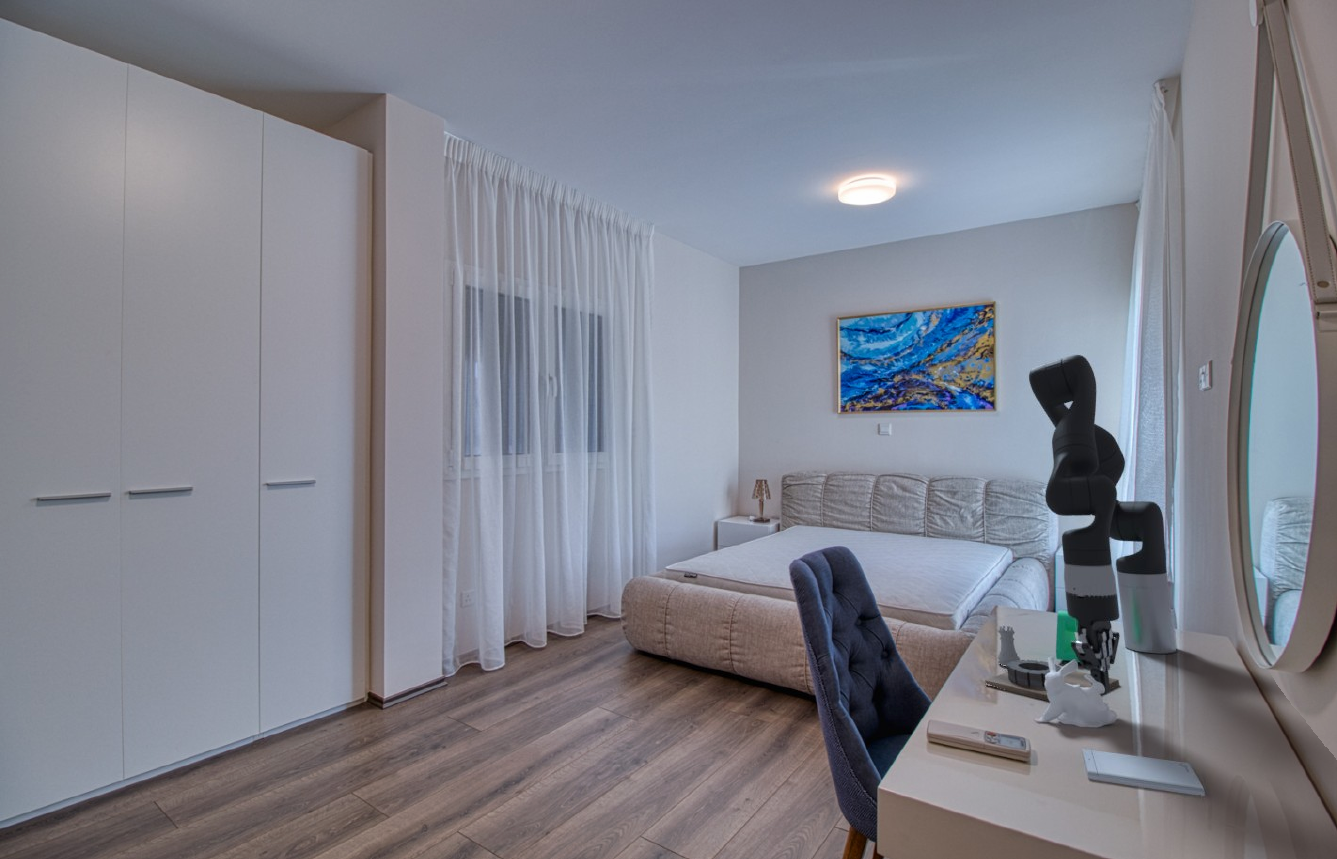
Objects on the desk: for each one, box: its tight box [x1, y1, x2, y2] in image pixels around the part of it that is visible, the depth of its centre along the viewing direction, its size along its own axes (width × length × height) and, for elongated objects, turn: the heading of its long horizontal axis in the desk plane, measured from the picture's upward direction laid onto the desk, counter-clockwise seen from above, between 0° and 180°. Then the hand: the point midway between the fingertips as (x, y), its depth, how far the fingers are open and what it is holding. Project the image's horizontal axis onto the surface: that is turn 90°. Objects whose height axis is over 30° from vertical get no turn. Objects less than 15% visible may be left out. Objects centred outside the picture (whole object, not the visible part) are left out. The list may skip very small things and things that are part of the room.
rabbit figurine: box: [1033, 656, 1118, 728], centre depth 105 cm, size 12×8×10 cm, turn 63°
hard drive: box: [1081, 748, 1206, 797], centre depth 85 cm, size 2×8×12 cm
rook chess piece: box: [997, 625, 1021, 666], centre depth 135 cm, size 4×4×8 cm
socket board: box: [984, 659, 1120, 702], centre depth 121 cm, size 18×16×4 cm
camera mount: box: [1055, 609, 1080, 663], centre depth 137 cm, size 12×8×10 cm, turn 136°
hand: (1101, 691), depth 107 cm, fingers closed
